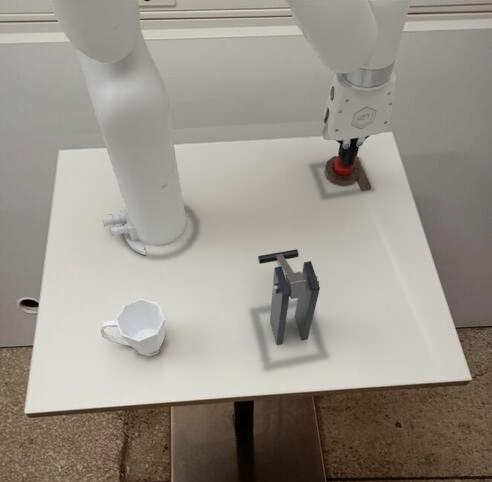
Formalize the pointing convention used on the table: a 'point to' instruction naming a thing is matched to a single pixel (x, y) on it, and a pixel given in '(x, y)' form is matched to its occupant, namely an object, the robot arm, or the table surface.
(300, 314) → the bracket
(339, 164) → the button
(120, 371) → the table surface
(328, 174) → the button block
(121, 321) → the cup
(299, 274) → the lever
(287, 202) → the table surface
